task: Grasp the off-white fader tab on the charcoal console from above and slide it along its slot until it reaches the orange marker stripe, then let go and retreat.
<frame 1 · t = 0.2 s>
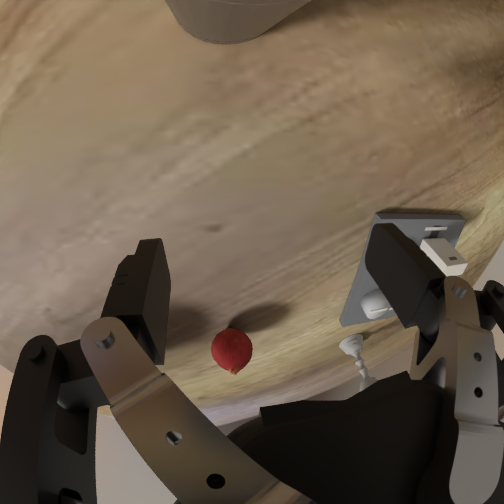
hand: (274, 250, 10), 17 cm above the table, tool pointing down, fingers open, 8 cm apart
fader: (443, 256, 31), point 5 cm above the table, slide at 0.0 cm
onion: (229, 327, 40), on the table
console: (403, 269, 38), on the table
chalice: (350, 341, 48), on the table
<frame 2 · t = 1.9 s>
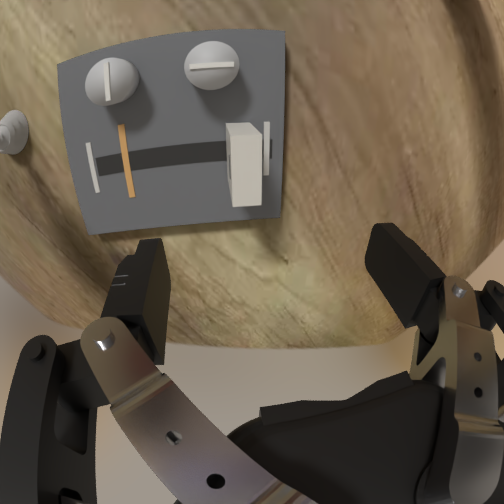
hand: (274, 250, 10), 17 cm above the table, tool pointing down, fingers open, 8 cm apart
fader: (241, 159, 20), point 5 cm above the table, slide at 0.0 cm
console: (169, 130, 22), on the table
chalice: (14, 132, 18), on the table
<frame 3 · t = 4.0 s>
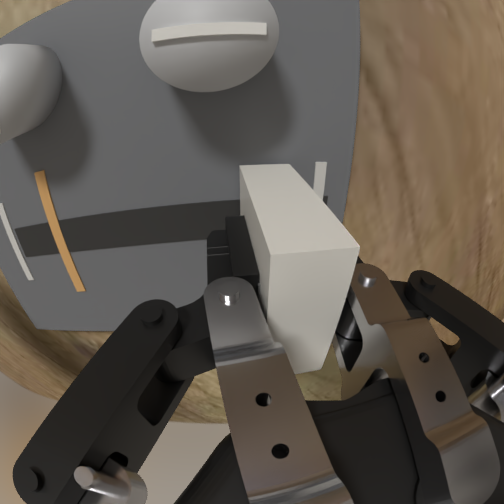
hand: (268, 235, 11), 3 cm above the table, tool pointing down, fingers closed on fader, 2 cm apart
fader: (279, 261, 9), point 5 cm above the table, slide at 0.0 cm, touching gripper
console: (128, 175, 11), on the table
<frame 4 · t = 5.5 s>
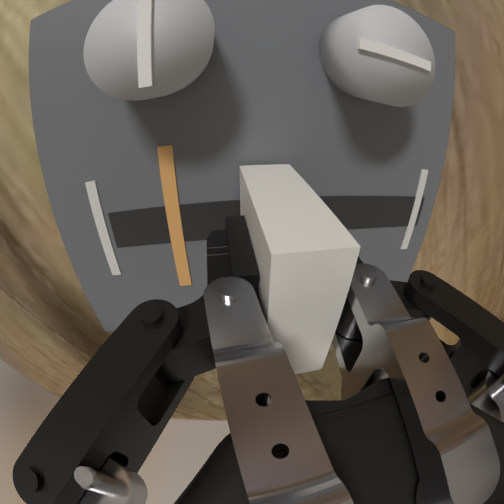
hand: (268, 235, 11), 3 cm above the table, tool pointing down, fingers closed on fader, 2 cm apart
fader: (279, 261, 9), point 5 cm above the table, slide at 6.2 cm, touching gripper
console: (260, 163, 12), on the table
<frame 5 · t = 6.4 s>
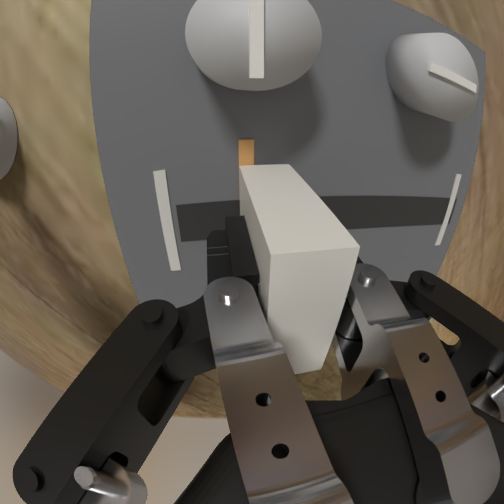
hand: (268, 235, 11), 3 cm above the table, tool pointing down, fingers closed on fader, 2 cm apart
fader: (279, 261, 9), point 5 cm above the table, slide at 9.3 cm, touching gripper
console: (324, 163, 13), on the table
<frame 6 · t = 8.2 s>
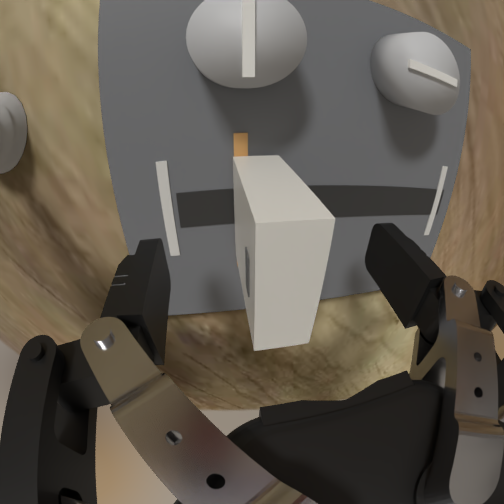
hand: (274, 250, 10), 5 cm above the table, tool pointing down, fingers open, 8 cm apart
fader: (268, 241, 10), point 5 cm above the table, slide at 9.4 cm
console: (314, 155, 13), on the table
chalice: (0, 132, 9), on the table
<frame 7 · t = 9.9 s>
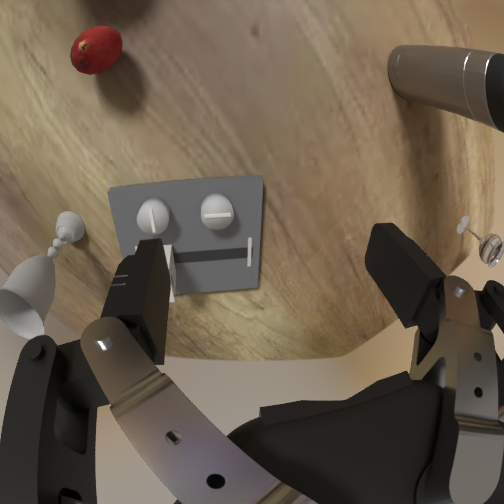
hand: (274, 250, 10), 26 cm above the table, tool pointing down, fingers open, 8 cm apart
wineglass: (462, 224, 48), on the table
fader: (165, 273, 35), point 5 cm above the table, slide at 9.4 cm
onion: (107, 52, 22), on the table
console: (189, 239, 38), on the table
chalice: (70, 225, 33), on the table
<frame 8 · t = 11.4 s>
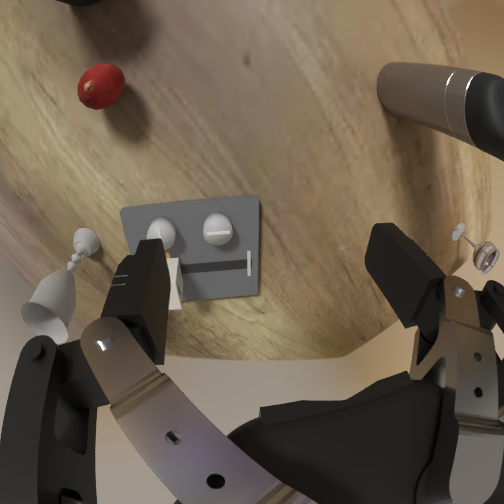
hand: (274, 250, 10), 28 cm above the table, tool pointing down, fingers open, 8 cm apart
wineglass: (458, 231, 50), on the table
fader: (173, 283, 40), point 5 cm above the table, slide at 9.4 cm
onion: (111, 85, 27), on the table
console: (194, 252, 43), on the table
chalice: (86, 240, 39), on the table
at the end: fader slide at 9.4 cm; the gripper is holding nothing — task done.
